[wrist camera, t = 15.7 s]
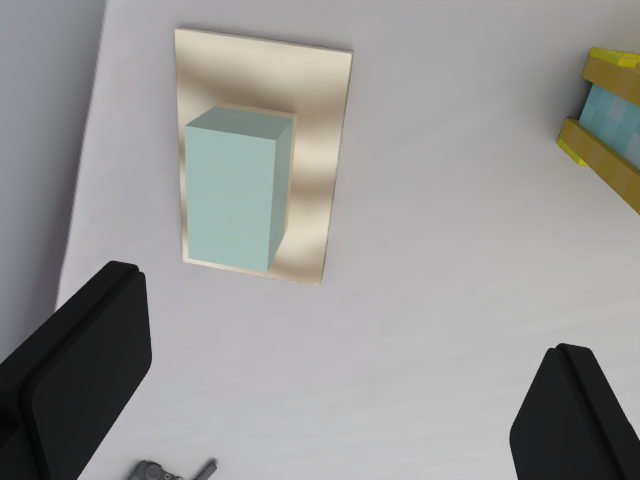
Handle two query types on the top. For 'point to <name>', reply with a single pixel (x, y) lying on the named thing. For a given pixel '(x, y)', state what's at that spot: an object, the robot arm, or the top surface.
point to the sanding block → (238, 184)
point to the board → (281, 95)
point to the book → (609, 123)
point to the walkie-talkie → (163, 472)
